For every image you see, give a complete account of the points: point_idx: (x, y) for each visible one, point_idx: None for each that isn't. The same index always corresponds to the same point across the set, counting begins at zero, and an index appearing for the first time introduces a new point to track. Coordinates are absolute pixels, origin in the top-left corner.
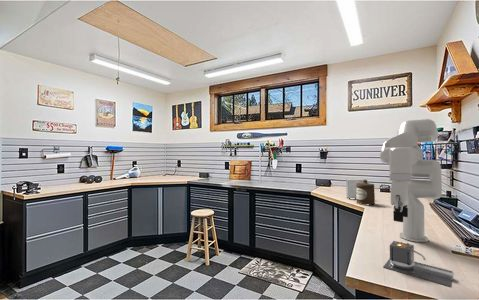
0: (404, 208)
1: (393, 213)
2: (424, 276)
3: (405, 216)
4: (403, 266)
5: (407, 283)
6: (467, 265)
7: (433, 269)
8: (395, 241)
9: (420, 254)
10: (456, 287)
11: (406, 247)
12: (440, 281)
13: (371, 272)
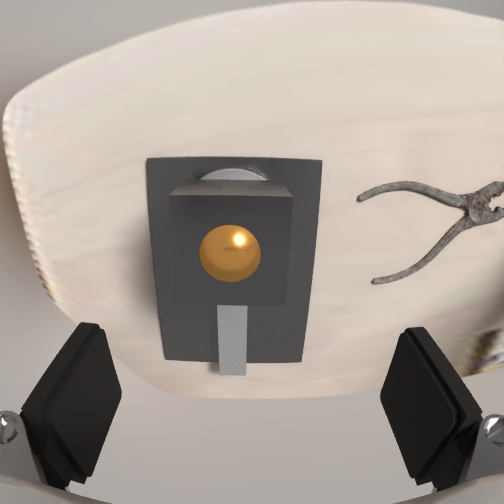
0: (421, 459)
1: (41, 380)
2: (174, 301)
3: (386, 387)
4: None
5: (82, 259)
6: None
7: (232, 331)
8: (286, 209)
9: (420, 264)
10: (178, 368)
11: (206, 281)
12: (174, 340)
13: (68, 139)
